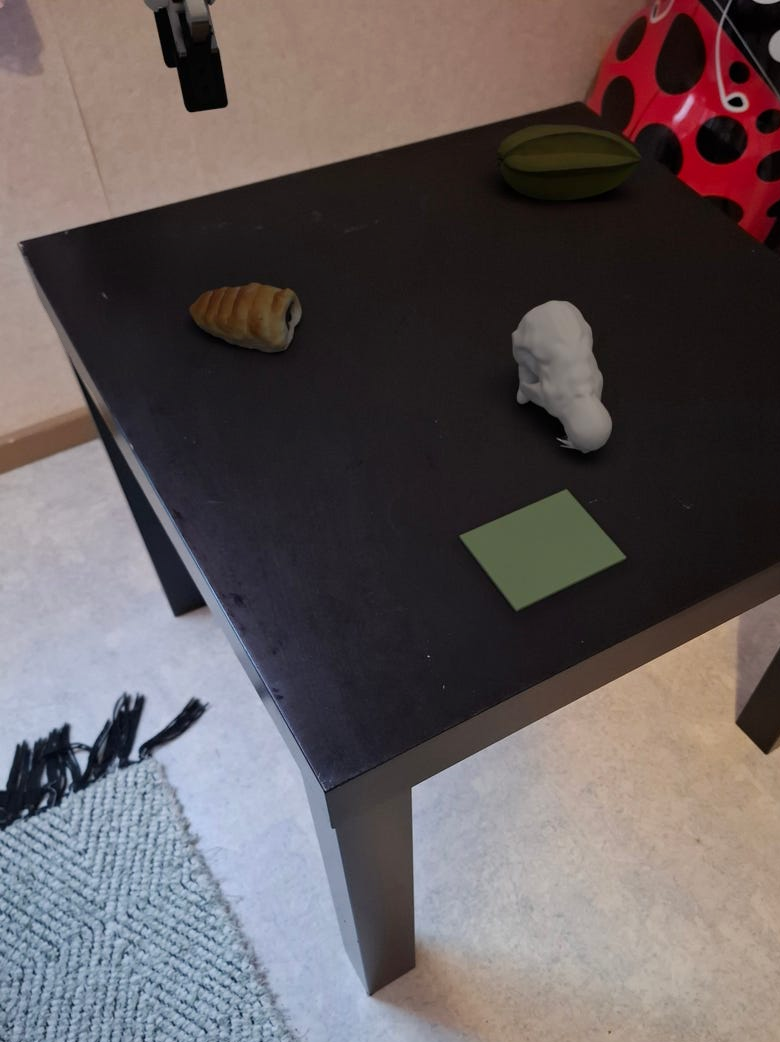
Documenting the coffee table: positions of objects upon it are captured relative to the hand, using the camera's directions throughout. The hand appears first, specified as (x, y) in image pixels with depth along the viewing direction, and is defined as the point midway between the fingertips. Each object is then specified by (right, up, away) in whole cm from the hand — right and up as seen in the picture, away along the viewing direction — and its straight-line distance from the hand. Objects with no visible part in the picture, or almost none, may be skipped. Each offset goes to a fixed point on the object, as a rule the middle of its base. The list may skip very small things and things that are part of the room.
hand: (195, 83), depth 70 cm
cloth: (+27, -36, -1) cm, 45 cm away
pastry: (+2, -15, +11) cm, 19 cm away
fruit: (+31, +5, +27) cm, 41 cm away
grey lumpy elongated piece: (+29, -24, +7) cm, 39 cm away
